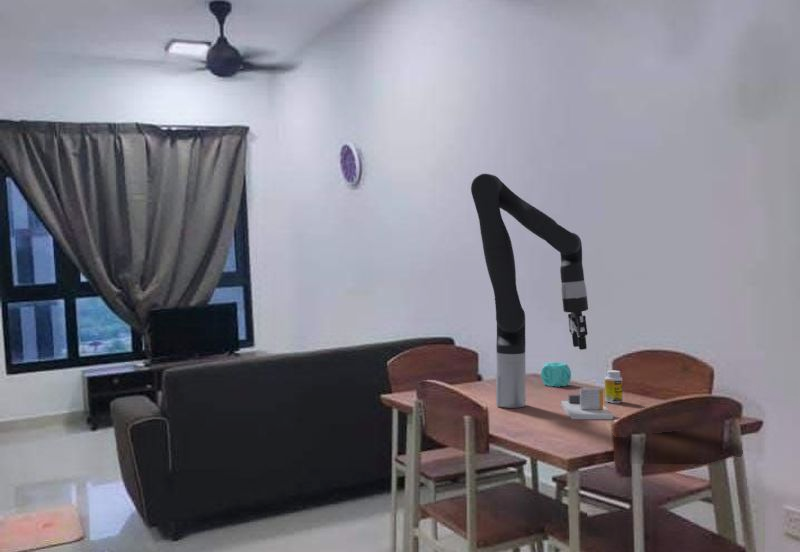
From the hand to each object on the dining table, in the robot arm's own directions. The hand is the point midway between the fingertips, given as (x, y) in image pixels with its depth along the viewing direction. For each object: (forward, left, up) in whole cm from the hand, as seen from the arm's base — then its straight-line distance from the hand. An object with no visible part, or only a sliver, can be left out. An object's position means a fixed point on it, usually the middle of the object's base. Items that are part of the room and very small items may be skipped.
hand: (579, 347), depth 232 cm
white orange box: (+2, -6, -18) cm, 19 cm away
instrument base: (+1, -3, -20) cm, 20 cm away
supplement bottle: (+13, +13, -20) cm, 27 cm away
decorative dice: (-1, +45, -20) cm, 49 cm away
